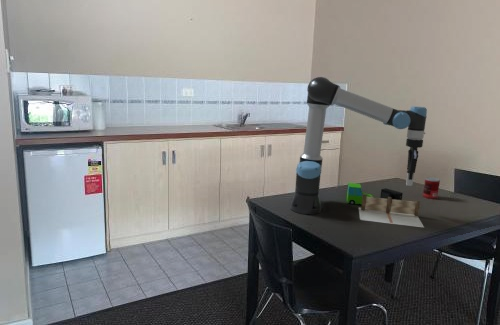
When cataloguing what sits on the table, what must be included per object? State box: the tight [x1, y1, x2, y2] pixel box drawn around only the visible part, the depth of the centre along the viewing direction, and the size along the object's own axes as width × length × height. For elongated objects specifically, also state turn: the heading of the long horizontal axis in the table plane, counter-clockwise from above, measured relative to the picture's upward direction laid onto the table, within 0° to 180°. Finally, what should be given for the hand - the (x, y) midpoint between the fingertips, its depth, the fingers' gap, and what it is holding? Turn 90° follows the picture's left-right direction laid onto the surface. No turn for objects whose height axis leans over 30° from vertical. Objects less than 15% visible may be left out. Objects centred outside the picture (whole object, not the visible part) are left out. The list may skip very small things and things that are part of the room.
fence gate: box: [390, 199, 421, 217], centre depth 192 cm, size 13×2×7 cm, turn 77°
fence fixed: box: [360, 193, 392, 213], centre depth 194 cm, size 14×2×8 cm, turn 77°
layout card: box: [358, 206, 425, 228], centre depth 188 cm, size 28×19×1 cm
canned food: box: [422, 176, 441, 200], centre depth 226 cm, size 8×8×11 cm
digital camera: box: [379, 187, 404, 203], centre depth 211 cm, size 10×5×7 cm, turn 40°
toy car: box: [346, 182, 374, 205], centre depth 207 cm, size 10×13×10 cm
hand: (409, 185), depth 195 cm, fingers closed
